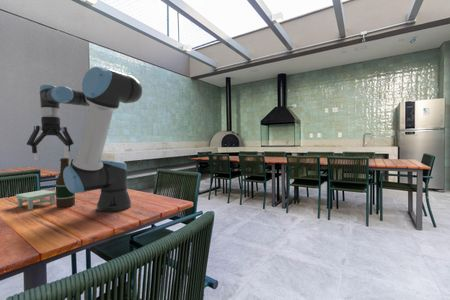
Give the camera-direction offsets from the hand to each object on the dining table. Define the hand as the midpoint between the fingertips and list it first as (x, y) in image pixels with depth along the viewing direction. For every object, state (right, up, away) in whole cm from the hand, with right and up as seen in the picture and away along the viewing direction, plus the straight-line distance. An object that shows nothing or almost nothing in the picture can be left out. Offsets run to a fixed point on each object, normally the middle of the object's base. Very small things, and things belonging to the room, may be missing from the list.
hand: (52, 159), depth 116 cm
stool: (-8, -23, 0) cm, 25 cm away
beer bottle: (+7, -24, -1) cm, 25 cm away
